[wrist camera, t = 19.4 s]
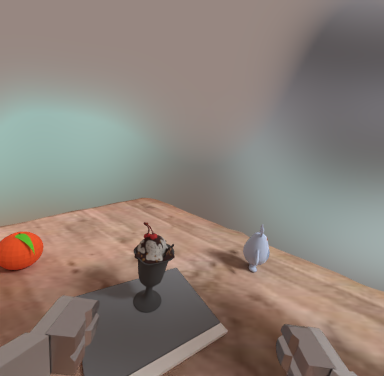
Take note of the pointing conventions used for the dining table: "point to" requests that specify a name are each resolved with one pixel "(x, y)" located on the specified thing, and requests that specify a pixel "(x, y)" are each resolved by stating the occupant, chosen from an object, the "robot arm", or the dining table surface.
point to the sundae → (151, 269)
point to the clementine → (20, 250)
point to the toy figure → (256, 250)
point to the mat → (148, 329)
